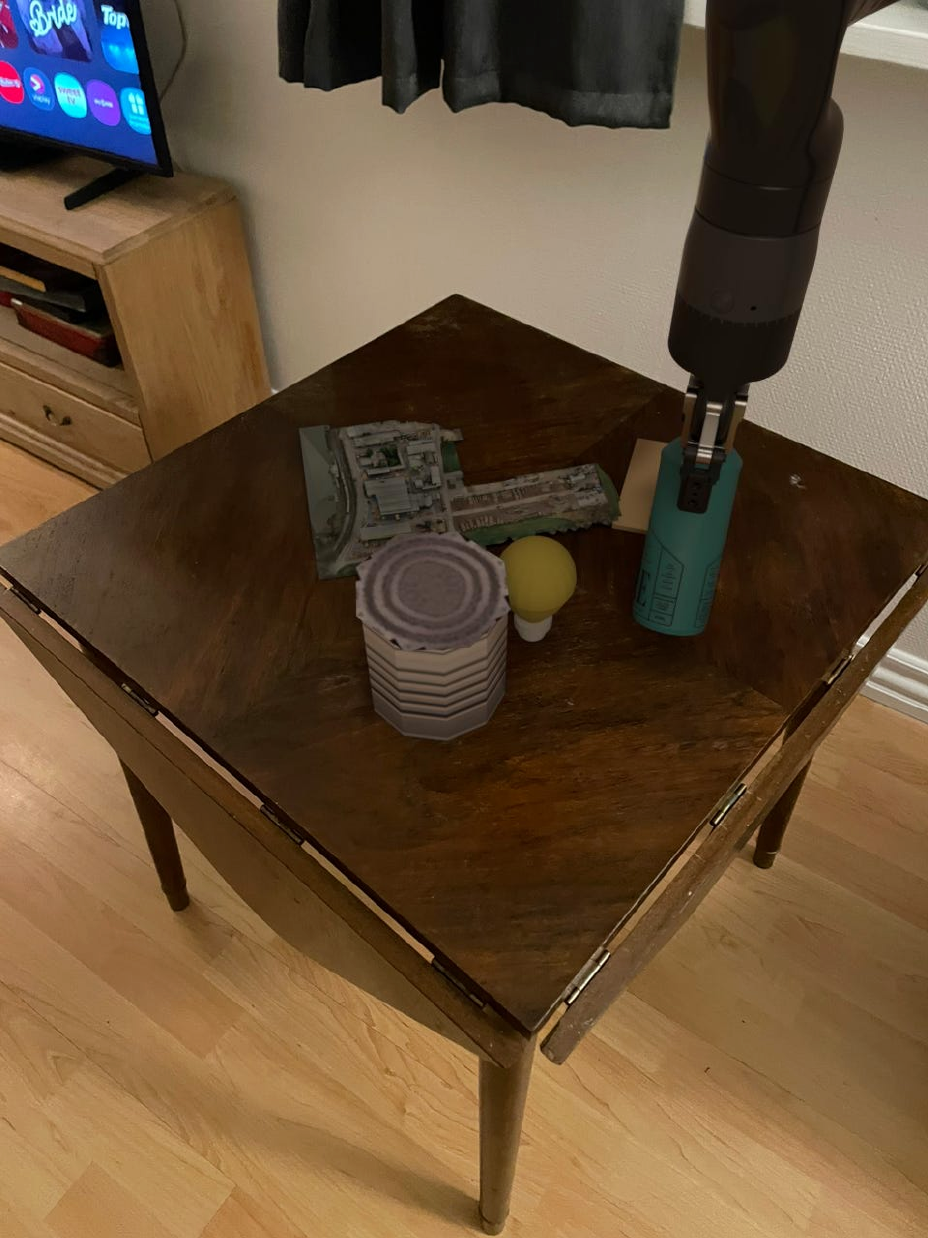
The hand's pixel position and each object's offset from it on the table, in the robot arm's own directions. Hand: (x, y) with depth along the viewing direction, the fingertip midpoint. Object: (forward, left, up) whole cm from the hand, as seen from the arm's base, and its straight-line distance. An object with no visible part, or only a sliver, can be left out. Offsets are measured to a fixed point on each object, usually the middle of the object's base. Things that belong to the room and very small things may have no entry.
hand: (692, 505), depth 69 cm
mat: (+2, -20, -15) cm, 25 cm away
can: (+17, +10, -15) cm, 25 cm away
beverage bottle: (0, +1, -14) cm, 14 cm away
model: (+23, -15, -15) cm, 31 cm away
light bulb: (+11, +2, -15) cm, 19 cm away
